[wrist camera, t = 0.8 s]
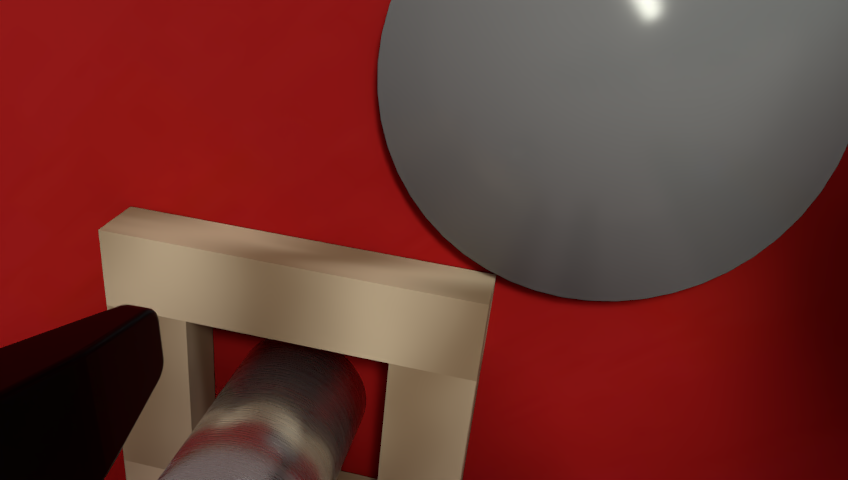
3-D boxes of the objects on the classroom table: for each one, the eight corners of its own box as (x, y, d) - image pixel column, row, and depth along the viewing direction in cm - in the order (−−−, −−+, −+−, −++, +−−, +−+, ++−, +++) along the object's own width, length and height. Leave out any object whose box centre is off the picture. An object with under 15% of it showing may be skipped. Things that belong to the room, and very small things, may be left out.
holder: (496, 274, 23) (489, 304, 21) (450, 549, 28) (442, 590, 26) (130, 206, 24) (98, 230, 23) (154, 479, 30) (130, 513, 28)
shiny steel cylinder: (370, 349, 25) (282, 538, 18) (361, 453, 27) (280, 660, 20) (240, 323, 25) (105, 495, 18) (241, 426, 27) (121, 617, 20)
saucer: (944, -139, 16) (956, -139, 15) (770, 325, 21) (774, 337, 21) (402, -195, 18) (396, -197, 17) (368, 250, 23) (363, 259, 23)
